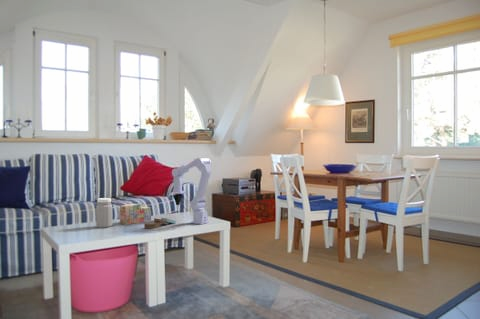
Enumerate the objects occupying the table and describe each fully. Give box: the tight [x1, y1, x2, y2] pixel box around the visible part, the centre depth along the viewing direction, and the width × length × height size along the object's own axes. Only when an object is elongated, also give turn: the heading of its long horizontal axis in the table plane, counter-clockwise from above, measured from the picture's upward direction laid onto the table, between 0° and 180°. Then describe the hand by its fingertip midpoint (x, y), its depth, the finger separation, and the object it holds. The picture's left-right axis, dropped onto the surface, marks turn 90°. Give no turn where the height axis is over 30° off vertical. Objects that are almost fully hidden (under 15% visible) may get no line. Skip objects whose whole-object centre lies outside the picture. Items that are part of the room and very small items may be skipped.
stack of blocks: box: [119, 203, 152, 225], centre depth 265 cm, size 21×6×12 cm, turn 143°
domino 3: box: [153, 217, 170, 226], centre depth 252 cm, size 2×5×9 cm
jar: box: [95, 197, 114, 229], centre depth 247 cm, size 10×10×18 cm
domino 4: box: [160, 217, 177, 225], centre depth 257 cm, size 2×5×9 cm
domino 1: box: [143, 221, 161, 227], centre depth 245 cm, size 2×5×9 cm
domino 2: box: [143, 225, 161, 230], centre depth 245 cm, size 2×5×9 cm
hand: (177, 204), depth 274 cm, fingers closed
